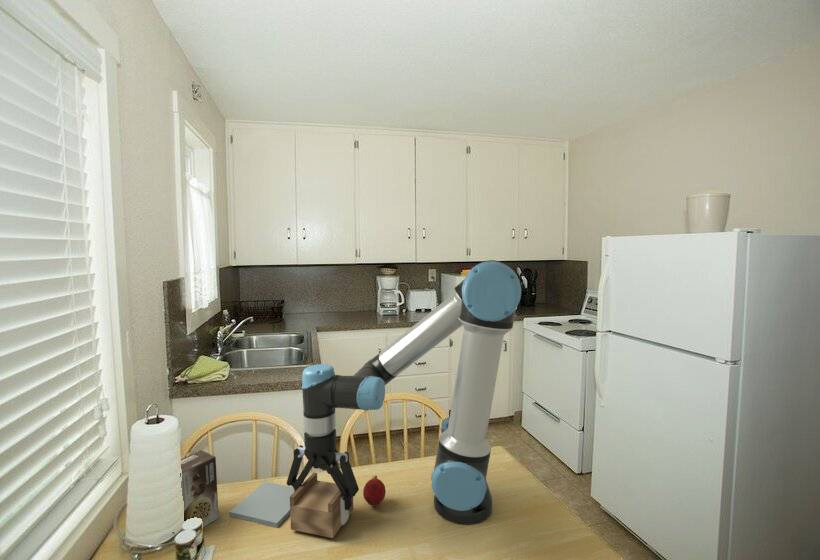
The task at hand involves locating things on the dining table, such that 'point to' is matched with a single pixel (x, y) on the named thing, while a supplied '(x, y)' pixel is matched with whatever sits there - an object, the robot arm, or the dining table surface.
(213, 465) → the coffee box
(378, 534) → the dining table surface
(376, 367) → the robot arm
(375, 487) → the onion
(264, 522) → the base board
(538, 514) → the dining table surface
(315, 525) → the wooden channel block
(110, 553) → the dining table surface
